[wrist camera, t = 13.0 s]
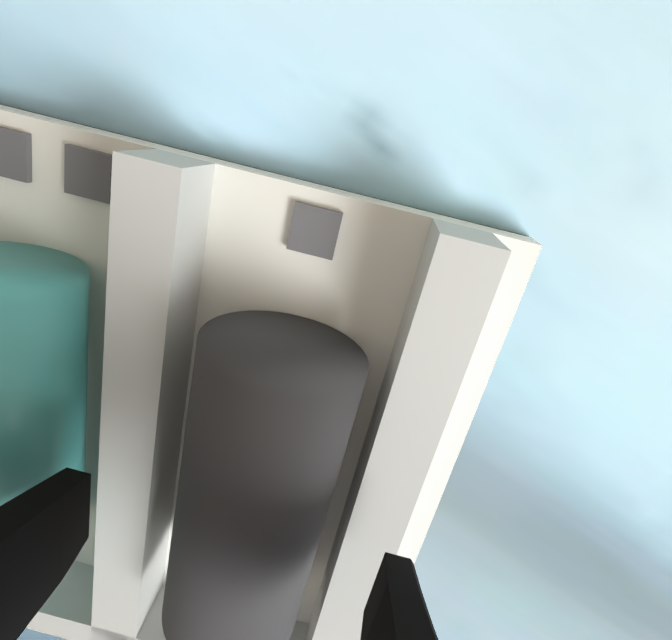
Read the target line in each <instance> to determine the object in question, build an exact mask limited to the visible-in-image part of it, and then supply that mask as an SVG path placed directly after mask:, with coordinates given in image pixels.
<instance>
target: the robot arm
mask: <svg viewBox="0 0 672 640" xmlns="http://www.w3.org/2000/svg"><path fill="white" fill-rule="evenodd" d="M90 492H91V474H90V473H86V472H82V471H79V470H75V469H71V468H65V469H63V470H61V471H59V472H58V473H56V474H54V475H52V476H51V477H49V478H47V479H45V480H44V481H42V482H40V483H39V484H37V485H35V486H34V487H32V488H30V489H28V490H27V491H25V492H23V493H22V494H20V495H18V496H16V497H15V498H13V499H11V500H10V501H8V502H6V503H4V504H3V505H1V506H0V640H17V638H18V637H19V636H20V634H21V633H22V632H23V631H24V629H25V628H26V627H27V625H28V624H29V623H30V622H31V620H32V619H33V618H34V616H35V615H36V614H37V613H38V611H39V610H40V609H41V607H42V606H43V605H44V603H45V602H46V601H47V599H48V598H49V597H50V596H51V594H52V593H53V592H54V590H55V589H56V588H57V586H58V585H59V584H60V582H61V581H62V580H63V578H64V577H65V575H66V573H67V572H68V570H69V569H70V567H71V565H72V564H73V562H74V561H75V559H76V557H77V556H78V554H79V552H80V551H81V549H82V547H83V546H84V544H85V542H86V541H87V539H88V537H89V518H90ZM360 640H438V638H437V635H436V632H435V630H434V627H433V624H432V621H431V618H430V615H429V612H428V609H427V606H426V603H425V600H424V597H423V594H422V591H421V588H420V584H419V581H418V578H417V574H416V571H415V567H414V563H413V562H412V560H411V559H410V558H406V557H402V556H399V555H395V554H391V553H387V552H385V554H384V557H383V559H382V562H381V565H380V568H379V570H378V573H377V576H376V579H375V581H374V584H373V587H372V589H371V592H370V595H369V598H368V600H367V603H366V606H365V609H364V613H363V621H362V630H361V639H360Z"/></svg>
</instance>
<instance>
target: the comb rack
mask: <svg viewBox="0 0 672 640" xmlns="http://www.w3.org/2000/svg"><path fill="white" fill-rule="evenodd" d="M0 241H10V242H19V243H27V244H33V245H39V246H44V247H48V248H52V249H56V250H60V251H63V252H66V253H68V254H71V255H73V256H75V257H77V258H79V259H81V260H82V261H83V262H85V263H86V265H87V266H88V267H89V269H90V294H89V337H88V380H87V423H86V466H85V472H86V473H90V474H91V492H90V518H89V537H88V539H87V541H86V542H85V544H84V546H83V547H82V549H81V551H80V552H79V554H78V556H77V557H76V559H75V561H74V562H73V564H72V565H71V567H70V569H69V570H68V572H67V573H66V575H65V577H64V578H63V580H62V581H61V582H60V584H59V585H58V586H57V588H56V589H55V590H54V592H53V593H52V594H51V596H50V597H49V598H48V599H47V601H46V602H45V603H44V605H43V606H42V607H41V609H40V610H39V611H38V613H37V614H36V615H35V616H34V618H33V619H32V620H31V622H30V623H29V624H28V625H27V627H26V628H27V629H31V630H34V631H38V632H42V633H45V634H49V635H53V636H56V637H60V638H64V639H67V640H166V638H165V636H164V632H163V627H162V607H163V599H164V591H165V583H166V575H167V568H168V560H169V552H170V544H171V537H172V529H173V521H174V513H175V505H176V498H177V490H178V482H179V474H180V466H181V459H182V451H183V443H184V435H185V428H186V420H187V412H188V404H189V396H190V389H191V381H192V373H193V365H194V357H195V350H196V342H197V335H198V332H199V330H200V329H201V327H202V326H203V325H204V324H205V323H206V322H208V321H209V320H211V319H213V318H215V317H217V316H220V315H223V314H227V313H231V312H237V311H248V310H262V311H275V312H283V313H289V314H293V315H297V316H301V317H305V318H309V319H312V320H315V321H318V322H321V323H323V324H326V325H328V326H330V327H333V328H334V329H336V330H338V331H340V332H342V333H343V334H345V335H347V336H348V337H349V338H351V339H352V340H353V341H355V342H356V343H357V344H358V345H359V346H360V347H361V348H362V349H363V351H364V352H365V354H366V356H367V358H368V361H369V371H368V375H367V378H366V381H365V385H364V388H363V392H362V395H361V399H360V402H359V406H358V409H357V413H356V416H355V419H354V423H353V426H352V430H351V433H350V437H349V440H348V444H347V447H346V450H345V454H344V457H343V461H342V464H341V468H340V471H339V475H338V478H337V481H336V485H335V488H334V492H333V495H332V499H331V502H330V506H329V509H328V513H327V516H326V519H325V523H324V526H323V530H322V533H321V537H320V540H319V544H318V547H317V550H316V554H315V557H314V561H313V564H312V568H311V571H310V575H309V578H308V582H307V585H306V588H305V592H304V595H303V599H302V602H301V606H300V609H299V613H298V616H297V619H296V623H295V626H294V630H293V632H292V635H291V638H290V639H289V640H360V639H361V630H362V621H363V613H364V609H365V606H366V603H367V600H368V598H369V595H370V592H371V589H372V587H373V584H374V581H375V579H376V576H377V573H378V570H379V568H380V565H381V562H382V559H383V557H384V554H385V552H387V553H391V554H395V555H399V556H402V557H406V558H410V559H411V560H412V562H413V563H415V561H416V558H417V556H418V553H419V551H420V549H421V546H422V544H423V541H424V539H425V536H426V534H427V531H428V529H429V526H430V524H431V521H432V519H433V516H434V514H435V511H436V509H437V506H438V504H439V501H440V499H441V496H442V494H443V491H444V489H445V486H446V484H447V482H448V479H449V477H450V474H451V472H452V469H453V467H454V464H455V462H456V459H457V457H458V454H459V452H460V449H461V447H462V444H463V442H464V439H465V437H466V434H467V432H468V429H469V427H470V424H471V422H472V419H473V417H474V414H475V412H476V410H477V407H478V405H479V402H480V400H481V397H482V395H483V392H484V390H485V387H486V385H487V382H488V380H489V377H490V375H491V372H492V370H493V367H494V365H495V362H496V360H497V357H498V355H499V352H500V350H501V347H502V345H503V343H504V340H505V338H506V335H507V333H508V330H509V328H510V325H511V323H512V320H513V318H514V315H515V313H516V310H517V308H518V305H519V303H520V300H521V298H522V295H523V293H524V290H525V288H526V285H527V283H528V280H529V278H530V275H531V273H532V271H533V268H534V266H535V263H536V261H537V258H538V256H539V253H540V251H541V248H542V245H541V244H540V243H538V242H537V241H535V240H534V239H533V238H531V237H527V236H523V235H519V234H515V233H511V232H507V231H503V230H499V229H495V228H491V227H487V226H483V225H479V224H475V223H471V222H467V221H463V220H459V219H455V218H451V217H447V216H443V215H439V214H435V213H431V212H427V211H423V210H419V209H415V208H411V207H407V206H403V205H399V204H395V203H391V202H387V201H383V200H379V199H375V198H371V197H367V196H363V195H360V194H356V193H352V192H348V191H344V190H340V189H336V188H332V187H328V186H324V185H320V184H316V183H312V182H308V181H304V180H300V179H296V178H292V177H288V176H284V175H280V174H276V173H272V172H268V171H264V170H260V169H256V168H252V167H248V166H244V165H240V164H236V163H232V162H228V161H224V160H220V159H216V158H212V157H208V156H204V155H200V154H196V153H192V152H188V151H184V150H180V149H176V148H172V147H168V146H164V145H160V144H156V143H152V142H148V141H144V140H140V139H136V138H132V137H128V136H124V135H120V134H116V133H112V132H108V131H104V130H100V129H96V128H92V127H88V126H84V125H80V124H76V123H72V122H68V121H64V120H60V119H56V118H52V117H48V116H44V115H40V114H36V113H32V112H28V111H24V110H20V109H16V108H12V107H8V106H4V105H0Z"/></svg>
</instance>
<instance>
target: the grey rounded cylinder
mask: <svg viewBox="0 0 672 640" xmlns="http://www.w3.org/2000/svg"><path fill="white" fill-rule="evenodd" d="M368 371H369V361H368V358H367V356H366V354H365V352H364V351H363V349H362V348H361V347H360V346H359V345H358V344H357V343H356V342H355V341H353V340H352V339H351V338H349V337H348V336H347V335H345V334H343V333H342V332H340V331H338V330H336V329H334V328H333V327H330V326H328V325H326V324H323V323H321V322H318V321H315V320H312V319H309V318H305V317H301V316H297V315H293V314H289V313H283V312H275V311H262V310H248V311H237V312H231V313H227V314H223V315H220V316H217V317H215V318H213V319H211V320H209V321H208V322H206V323H205V324H204V325H203V326H202V327H201V329H200V330H199V332H198V335H197V342H196V350H195V357H194V365H193V373H192V381H191V389H190V396H189V404H188V412H187V420H186V428H185V435H184V443H183V451H182V459H181V466H180V474H179V482H178V490H177V498H176V505H175V513H174V521H173V529H172V537H171V544H170V552H169V560H168V568H167V575H166V583H165V591H164V599H163V607H162V627H163V632H164V636H165V638H166V640H289V639H290V638H291V635H292V632H293V630H294V626H295V623H296V619H297V616H298V613H299V609H300V606H301V602H302V599H303V595H304V592H305V588H306V585H307V582H308V578H309V575H310V571H311V568H312V564H313V561H314V557H315V554H316V550H317V547H318V544H319V540H320V537H321V533H322V530H323V526H324V523H325V519H326V516H327V513H328V509H329V506H330V502H331V499H332V495H333V492H334V488H335V485H336V481H337V478H338V475H339V471H340V468H341V464H342V461H343V457H344V454H345V450H346V447H347V444H348V440H349V437H350V433H351V430H352V426H353V423H354V419H355V416H356V413H357V409H358V406H359V402H360V399H361V395H362V392H363V388H364V385H365V381H366V378H367V375H368Z"/></svg>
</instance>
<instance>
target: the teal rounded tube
mask: <svg viewBox="0 0 672 640" xmlns="http://www.w3.org/2000/svg"><path fill="white" fill-rule="evenodd" d="M89 294H90V269H89V267H88V266H87V265H86V263H85V262H83V261H82V260H81V259H79V258H77V257H75V256H73V255H71V254H68V253H66V252H63V251H60V250H56V249H52V248H48V247H44V246H39V245H33V244H27V243H19V242H10V241H0V506H1V505H3V504H4V503H6V502H8V501H10V500H11V499H13V498H15V497H16V496H18V495H20V494H22V493H23V492H25V491H27V490H28V489H30V488H32V487H34V486H35V485H37V484H39V483H40V482H42V481H44V480H45V479H47V478H49V477H51V476H52V475H54V474H56V473H58V472H59V471H61V470H63V469H65V468H71V469H75V470H79V471H82V472H85V466H86V423H87V380H88V337H89Z"/></svg>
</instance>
